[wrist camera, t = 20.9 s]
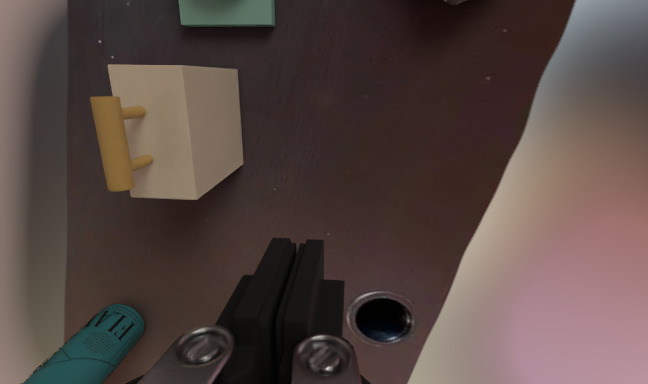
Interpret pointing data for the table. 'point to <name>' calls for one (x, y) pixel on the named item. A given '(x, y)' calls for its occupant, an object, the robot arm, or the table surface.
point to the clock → (169, 129)
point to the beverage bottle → (93, 349)
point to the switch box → (227, 13)
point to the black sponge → (454, 1)
